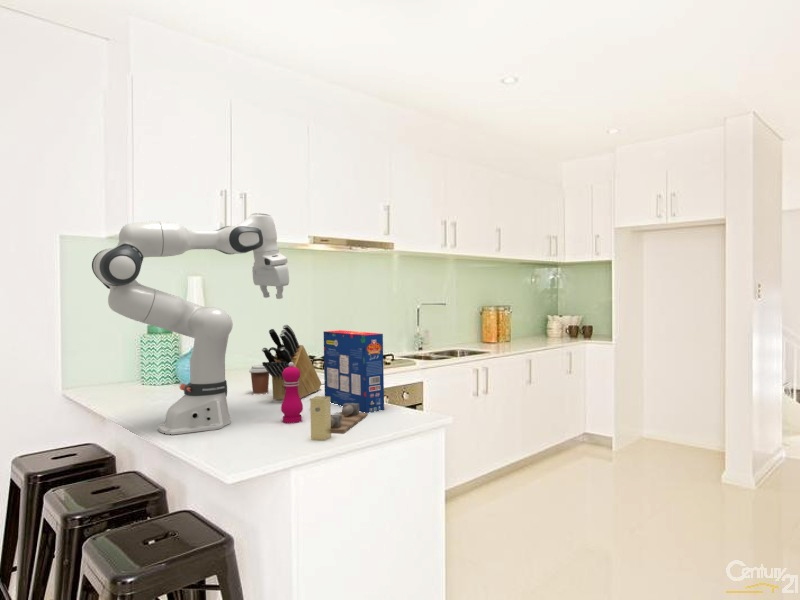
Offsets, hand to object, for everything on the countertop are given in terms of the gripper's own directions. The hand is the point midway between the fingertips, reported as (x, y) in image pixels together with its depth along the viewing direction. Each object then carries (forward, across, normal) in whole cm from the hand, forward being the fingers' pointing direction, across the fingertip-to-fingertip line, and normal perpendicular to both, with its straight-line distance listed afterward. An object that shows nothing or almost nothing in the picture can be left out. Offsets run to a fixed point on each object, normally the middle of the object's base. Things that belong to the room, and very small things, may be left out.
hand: (273, 298), depth 193 cm
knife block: (+46, -22, +14) cm, 52 cm away
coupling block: (+38, +40, -12) cm, 57 cm away
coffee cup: (+46, -39, +8) cm, 61 cm away
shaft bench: (+41, +30, +2) cm, 51 cm away
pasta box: (+45, +11, +21) cm, 51 cm away
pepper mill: (+40, +16, -8) cm, 44 cm away
